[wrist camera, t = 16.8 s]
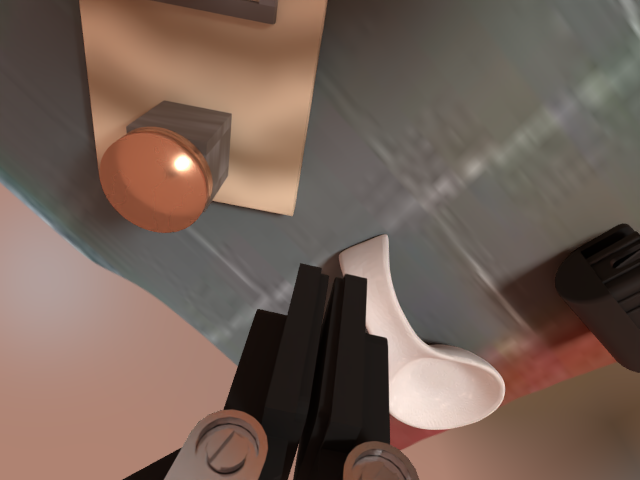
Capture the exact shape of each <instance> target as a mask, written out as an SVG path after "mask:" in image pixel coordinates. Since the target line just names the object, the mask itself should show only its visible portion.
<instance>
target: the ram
mask: <svg viewBox="0 0 640 480" xmlns="http://www.w3.org/2000/svg"><path fill="white" fill-rule="evenodd" d="M99 172H100V181H101V185H102V188H103V191H104V193H105V195H106V197H107V199H108V200H109V202H110V203H111V205H112V206H113V207H114V208H115V209H116V210H117V212H118V213H120V214H121V215H122V216H123V217H124V218H126V219H127V220H128V221H130V222H131V223H133V224H135V225H137V226H139V227H141V228H144V229H146V230H150V231H154V232H161V233H169V232H176V231H180V230H183V229H185V228H187V227H189V226H190V225H192V224H193V223H194V222H195V221H196V220H197V219H198V217H199V216H200V214H201V213H202V211H203V210H204V208H205V207H206V205H207V204H208V202H209V200H210V198H211V194H212V188H213V180H212V174H211V171H210V168H209V166H208V163H207V161H206V160H205V158H204V156H203V155H202V154H201V152H200V151H199V150H198V149H197V148H196V147H195V145H194V144H192V143H191V142H190V141H189V140H188V139H186V138H185V137H183V136H182V135H180V134H178V133H176V132H174V131H171V130H168V129H165V128H161V127H141V128H137V129H134V130H132V131H130V132H128V133H127V134H125V135H124V136H122V137H121V138H120V139H118V140H117V141H116V142H114V143H113V144H112V145H111V146H110V147H108V149H107V150H106V151H105V153H104V155H103V157H102V159H101V163H100V170H99Z"/></svg>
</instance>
